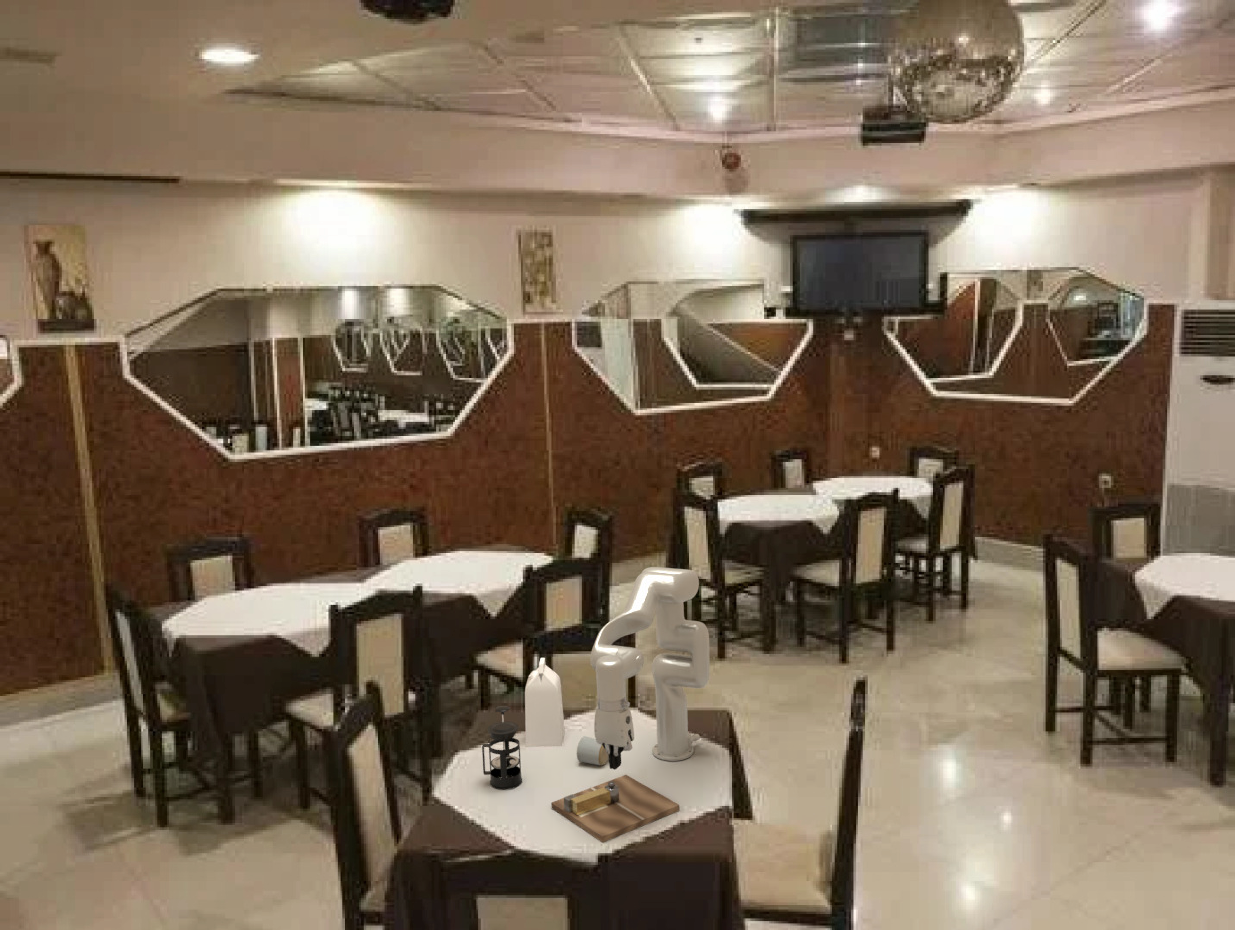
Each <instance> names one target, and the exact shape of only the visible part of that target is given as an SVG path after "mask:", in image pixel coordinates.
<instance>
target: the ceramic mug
mask: <svg viewBox="0 0 1235 930" xmlns="http://www.w3.org/2000/svg"><path fill="white" fill-rule="evenodd" d="M577 744H578V745H577V748H576V749H577V750H576V759H577V761H578V762H579V763H585V764H590V765H595V766H596V765H597V766H604V765H605V764H606V763H607V762H608V761H609V757H608V754H607V753H606V750H605V748H604V747H603V746H602V745H600V744H598V743H597V742H596V738H595V737H594V738H593V737H589V736H586V735H584V736H582V737H581V738H580V739H579V741H578V743H577Z"/></svg>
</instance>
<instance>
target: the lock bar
mask: <svg viewBox="0 0 1235 930" xmlns="http://www.w3.org/2000/svg"><path fill="white" fill-rule="evenodd" d="M618 801H619V786H618V785H615V787H613V788H609V787H608V785H606V786H605V787H603V788H600V789H598V790H595V791H592V792H589V793H586V794H583V795H580V796H578V797H575V798H572V799H571V811H572V812H573V813H575V814H576V815H579V814H582V813H585V812H588V811H590V810H593V809H596V808H599V807H601V806H604V805H607V804H610V803H615V802H618Z"/></svg>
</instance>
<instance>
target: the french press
mask: <svg viewBox="0 0 1235 930" xmlns="http://www.w3.org/2000/svg"><path fill="white" fill-rule="evenodd" d="M494 710H495V712H499V713H500V714H501V718H502V721H498V722H495V723H492V724H491V725H489V726H488V728H487V732H488V733H489V738H490V739H492V740H491V741H489V743H483V744H482V746H481V753H482V754H481V755H482V767H483V768H482V770H483V771H482V772H483V775H484V776H487V775H488V776H489V775H490V780H489V784H490V786H491V788H493V789H495V790H505V791H507V790H513V789H515V788H517V787H519V786H521V784H522V783H523V778H522V766H521V764H522V763H521V748H520V747H521V744H520V740H519V739H517V738H515V736H516V733H517V732H518V730H519V729H520V726H519V724H518V723H516V722H513V721H504V720H505V719H504V715H505V712H508V711H509V710H510V706H507V705H500V706H497V707H496V708H494ZM498 743H502V746H503V747H502V748H503V749H496V748H493V747H492V746H494V745H496V744H498ZM510 743H514V744H517V745H516V746H514V747H512V748H510ZM485 748H488V753H489V754H488V755H489V770H488V771H487V770H486V761H485V760H486V759H485V757H486V756H485ZM517 751H518V757H517V756H515V755H510V754H513V753H516V752H517ZM491 753H492V754H495V755H499V756H497V757H495V758H493V759H492V754H491Z"/></svg>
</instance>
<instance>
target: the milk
mask: <svg viewBox="0 0 1235 930" xmlns="http://www.w3.org/2000/svg"><path fill="white" fill-rule="evenodd" d="M538 663H539V664H538V667H537V669H534V670H532V671H531V672H530V674H529V675H528V678H527V681H526V684H525V690H524V706H525V707H524V710H525V711H524V712H525V713H524V714H525V715H524V716H525V718H524V719H525V725H524V726H525V747H526V748H528V747H529V748H531V747H534V748H535V747H537V748H538V747H539V748H540V747H562V746H563V743H564V737H565V732H566V731H565V729H566V728H565V718H564V709H563V698H562V697H563V695H562V686H561V678H560V676H559V675H558V673H556V672H555V671H554V670H553V669H551V668H550V667H549V666H548V665H546V658H545V657H540V660H539V662H538Z"/></svg>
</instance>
